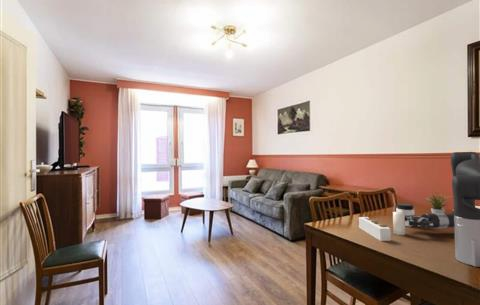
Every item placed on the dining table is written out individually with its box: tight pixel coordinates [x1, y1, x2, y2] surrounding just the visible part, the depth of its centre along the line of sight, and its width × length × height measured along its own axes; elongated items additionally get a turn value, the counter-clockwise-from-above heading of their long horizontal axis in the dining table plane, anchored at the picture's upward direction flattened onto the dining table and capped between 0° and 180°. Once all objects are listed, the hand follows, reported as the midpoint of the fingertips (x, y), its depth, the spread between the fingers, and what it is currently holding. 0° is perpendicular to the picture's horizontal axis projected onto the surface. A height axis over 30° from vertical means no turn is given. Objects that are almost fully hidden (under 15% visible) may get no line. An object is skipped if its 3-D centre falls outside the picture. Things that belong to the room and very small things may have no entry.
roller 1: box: [369, 219, 379, 224], centre depth 146 cm, size 3×7×3 cm
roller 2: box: [376, 223, 388, 227], centre depth 137 cm, size 3×7×3 cm
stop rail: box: [358, 216, 392, 242], centre depth 129 cm, size 22×5×6 cm, turn 179°
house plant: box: [425, 192, 452, 214], centre depth 155 cm, size 14×14×16 cm
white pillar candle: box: [392, 211, 406, 236], centre depth 128 cm, size 5×5×11 cm
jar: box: [395, 202, 415, 228], centre depth 144 cm, size 9×8×12 cm
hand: (403, 221), depth 128 cm, fingers open, 8 cm apart
